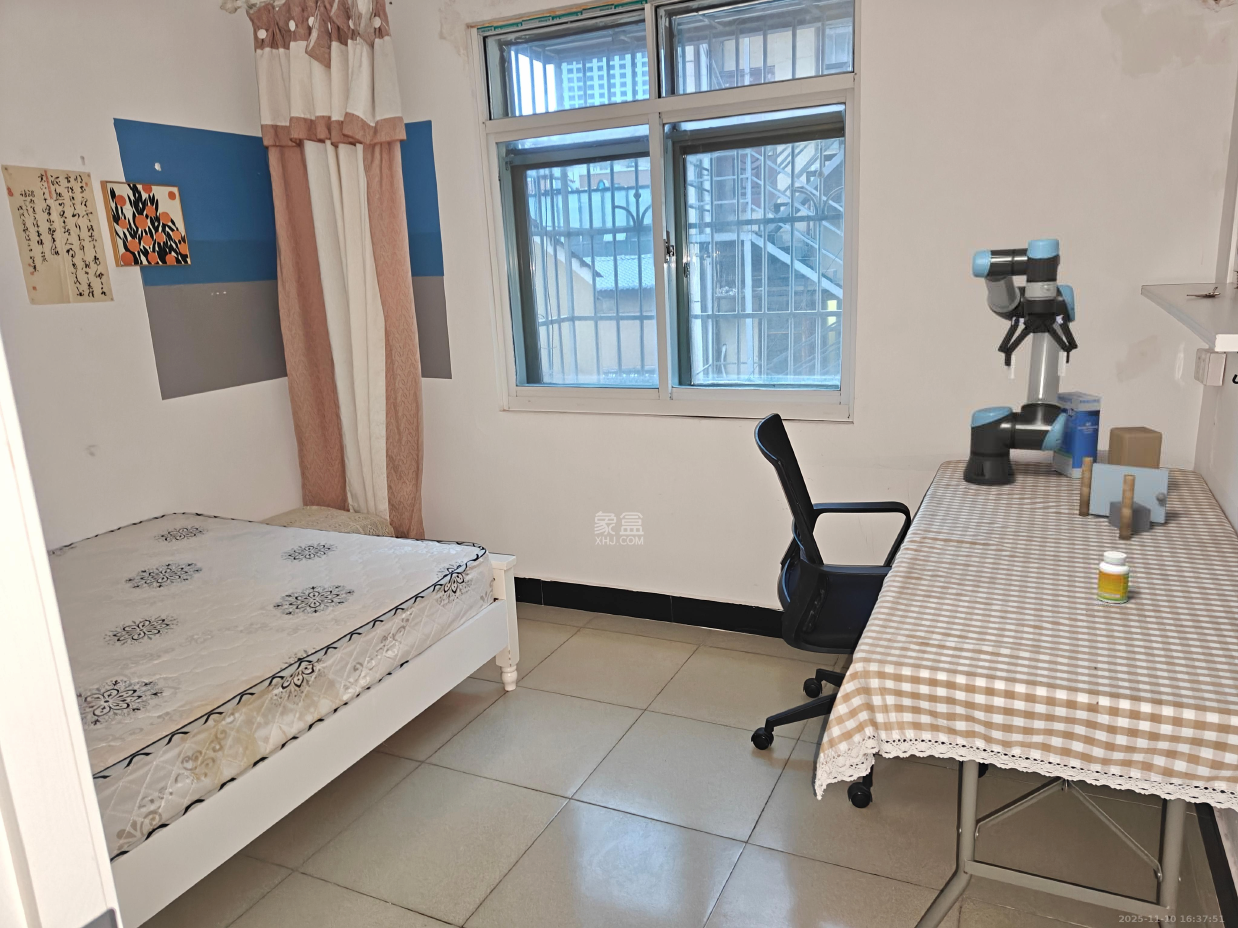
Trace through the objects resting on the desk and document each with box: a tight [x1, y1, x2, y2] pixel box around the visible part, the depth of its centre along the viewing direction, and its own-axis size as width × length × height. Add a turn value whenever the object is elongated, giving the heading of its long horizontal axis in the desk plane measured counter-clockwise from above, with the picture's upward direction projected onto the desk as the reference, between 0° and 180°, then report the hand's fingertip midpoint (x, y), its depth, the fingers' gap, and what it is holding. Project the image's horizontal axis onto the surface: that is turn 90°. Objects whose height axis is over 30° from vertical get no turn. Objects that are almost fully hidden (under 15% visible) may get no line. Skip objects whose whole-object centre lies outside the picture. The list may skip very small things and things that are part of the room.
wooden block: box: [1106, 426, 1163, 469], centre depth 237 cm, size 10×10×20 cm
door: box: [1089, 462, 1170, 524], centre depth 217 cm, size 17×4×14 cm, turn 48°
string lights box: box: [1052, 391, 1102, 480], centre depth 266 cm, size 13×8×26 cm, turn 1°
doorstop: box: [1107, 501, 1151, 534], centre depth 213 cm, size 8×6×6 cm
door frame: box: [1078, 457, 1135, 541], centre depth 214 cm, size 23×2×16 cm, turn 177°
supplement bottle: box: [1096, 550, 1130, 604], centre depth 170 cm, size 5×5×10 cm
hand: (1035, 377), depth 229 cm, fingers open, 13 cm apart
